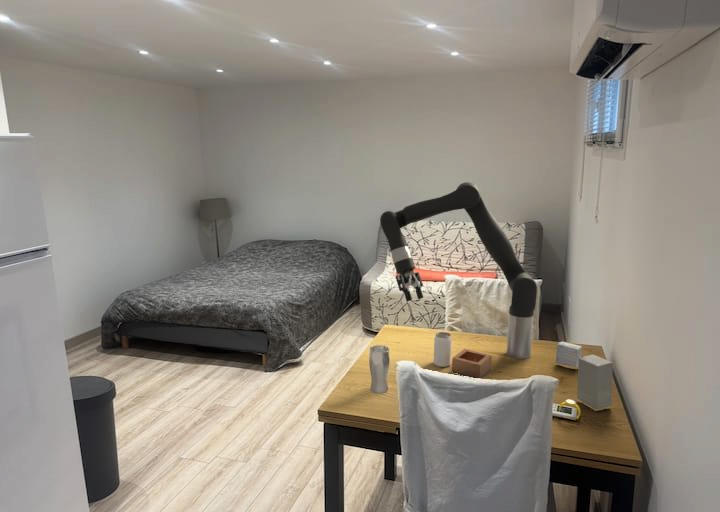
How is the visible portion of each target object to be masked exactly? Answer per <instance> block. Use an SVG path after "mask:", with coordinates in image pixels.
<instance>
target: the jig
mask: <svg viewBox="0 0 720 512" xmlns="http://www.w3.org/2000/svg"><path fill="white" fill-rule="evenodd" d="M492 358H493V357H492V354H489V353H488V354H487V353H483V352H478V351H474V350H471V349H466V348H463V349H462V350H461V351H460V352H459V353H457V354H456V355H455V356H453V357H451V373H452V372H453V373H458V374H460V375H463V376H462V377H464V376H469V377H473V378H482V379H483V378H484V377H486V375H488V373H490V372H491V371H492ZM453 373H452V374H453ZM460 375H459V376H460Z"/></svg>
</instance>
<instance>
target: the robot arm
mask: <svg viewBox="0 0 720 512" xmlns="http://www.w3.org/2000/svg"><path fill="white" fill-rule="evenodd" d="M458 210H465V212H466V213H467V215H468V216H469V218H470V219H471V221H472V223H473V225H474V226H473V227H474V229H475V230H476V233H477V235H478V237H479V239H480V241H481V243H482V245H483V246H484V248H485V249H486V251H487V253H488V254H489V256H490V257H491V258H492V260H493V261H494V262H495V263H496V265H498V267H499V268H500V270H501V271H502V273H503V275H504V277H505V280H506V281H507V284H508V286H509V289H510V291H511V302H510V303H511V304H510V305H509V308H508V309H509V311H508V327H507V329H508V330H507V342H506V355H507V356H508V357H510V358H513V359H516V360H526V359H529V358H530V357H531V352H532V341H533V340H532V338H533V325H534V312H535V310H536V305H537V296H538V295H537V294H538V285H537V283H536V281H535V279H533V278H532V276H531V275H529V273H528V272H527V270H525V268H524V267H523V266H522V264H521V263H520V261H519V260H518V258H517V256H516V253H515V250H514V247H513V246H512V243H511V241H510V239H509V237H508V236H507V234H506V233H505V231H504V229H503V228H502V226H501V225H500V223H499V222H498V221H497V219H496V218H495V217H494V215H493V214H492V213H491V212H490V210H489V209H488V207H487V205H486V203H485V202H484V199H483V197H482V195H481V193H480V189H479V188H478V186H477V185H476V184H474V183H473V182H469V181H467V182H462V183H460V184H459V185H458V186H457V188H456V189H455V190H453V191H452V192H449V193H448V194H447V193H446V194H445V195H442V196H439V197H435V198H431V199H427V200H425V199H424V200H422V201H418V202H415V203H412V204H410V205H406V206H404V207H403V209H401V210H399V211H396V212H394V211H389V210H386V211H384V212H383V213H381V215H380V218H379V222H380V225H381V229H382V231H383V234H384V236H385V238H386V240H387V243H388V247H389V250H390V254H391V259H392V262H393V264H394V268H395V271H396V274H397V275H396V276H395V279H396V283H397V287H398V291H399V292H402V293H403V295H404V298H405V299H406V302H410V301H412V300H413V297H412V293H411V291H410V286H411V287H412V288H414V290H415V294H416V297H417V299H418V300H420V299H421V300H422V299H423V298H424V295H423V294H424V293H423V292H422V287H424V283H423V280H422V278H421V275H420V272H419V271H417V272H415V271H414V270H415V269H416V266H415V262H414V260H413V257H412V252H411V250H410V248H409V246H408V242H407V239H406V237H405V235H404V233H403V232H402V230H401V229H402V228H404V227H406V226H408V225H411V224H414V223H416V222H417V223H418V222H420V221H423V220H425V219H428V218H432V217H434V216H438V215H440V214H443V213H448V212H452V211H458Z"/></svg>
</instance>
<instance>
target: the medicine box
mask: <svg viewBox="0 0 720 512" xmlns="http://www.w3.org/2000/svg"><path fill="white" fill-rule="evenodd" d="M582 350H583V346H581V345H579V344H574V343H570V342H566V341H560V342H558V344H556V354H555V356H556V358H555V364H556V363H558V364H563V365H568V366H572V367H578V361H579V358H580V357H582V353H583V352H582Z"/></svg>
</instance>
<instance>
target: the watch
mask: <svg viewBox="0 0 720 512" xmlns="http://www.w3.org/2000/svg"><path fill="white" fill-rule="evenodd" d="M564 405H568V406H571V407H575V408H576V409H577V411H578V414H577V416H576V417H577V420H578V419H579V418H580V417H581V408H580V406H579V405H578V404H577V403H576V400H573V399H569V398H568V399H566V400H565V401H563V402H561V403H560V404H559V407H558V413H559V412H560V410H562V407H563V406H564Z"/></svg>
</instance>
